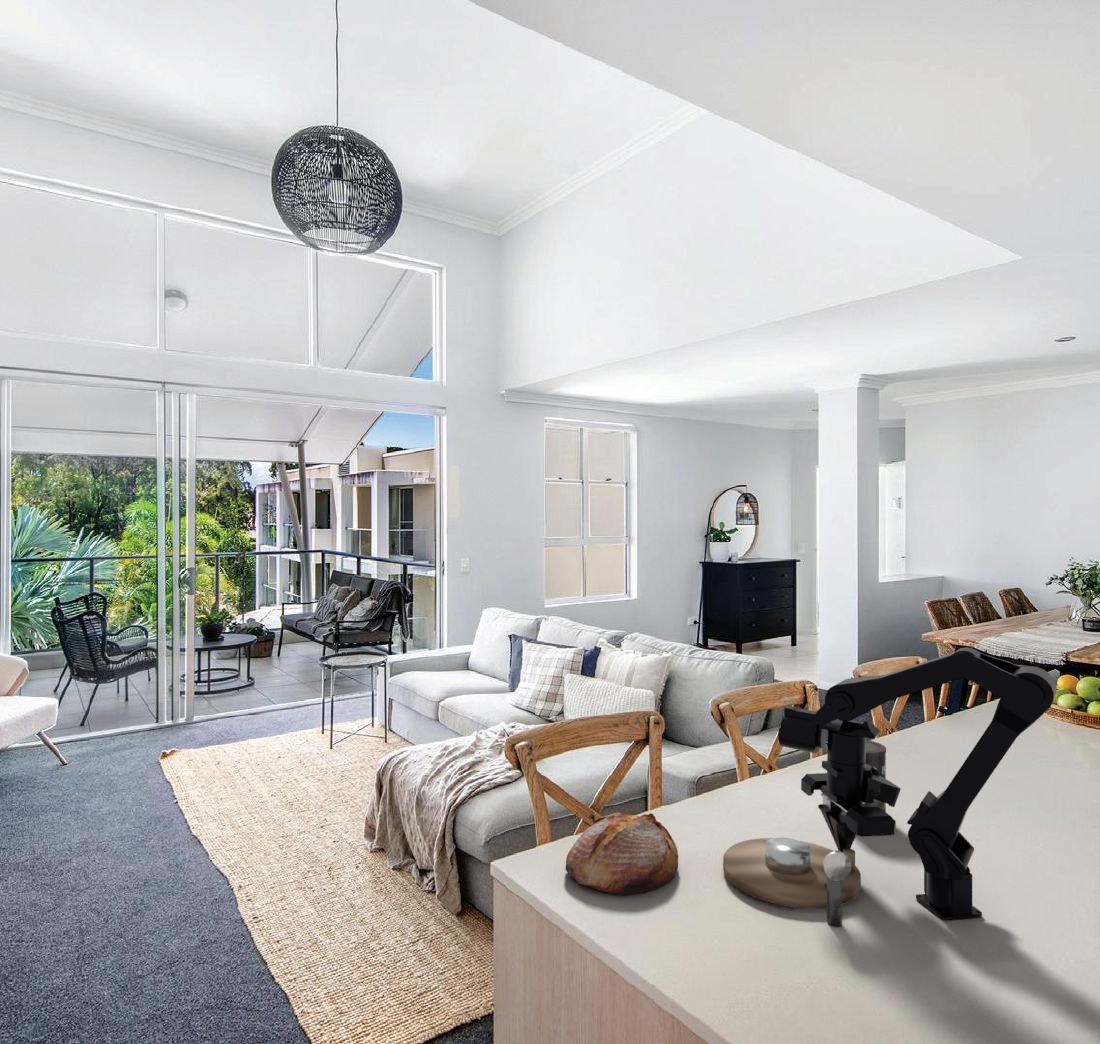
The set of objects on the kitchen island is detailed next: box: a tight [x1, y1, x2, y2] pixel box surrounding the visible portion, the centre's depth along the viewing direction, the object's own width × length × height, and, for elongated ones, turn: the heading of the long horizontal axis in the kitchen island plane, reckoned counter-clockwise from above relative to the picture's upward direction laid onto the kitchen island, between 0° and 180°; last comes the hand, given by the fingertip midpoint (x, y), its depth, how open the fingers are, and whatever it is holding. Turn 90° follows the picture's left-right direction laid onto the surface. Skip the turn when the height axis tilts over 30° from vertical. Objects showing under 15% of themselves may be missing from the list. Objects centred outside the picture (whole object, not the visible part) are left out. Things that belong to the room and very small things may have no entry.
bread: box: [565, 812, 679, 896], centre depth 122 cm, size 16×20×10 cm
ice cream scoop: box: [822, 850, 851, 928], centre depth 107 cm, size 3×4×10 cm
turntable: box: [722, 837, 862, 909], centre depth 119 cm, size 21×21×4 cm
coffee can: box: [862, 739, 887, 813], centre depth 145 cm, size 10×10×14 cm
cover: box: [765, 837, 811, 876], centre depth 119 cm, size 7×7×3 cm
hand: (843, 855), depth 120 cm, fingers closed
